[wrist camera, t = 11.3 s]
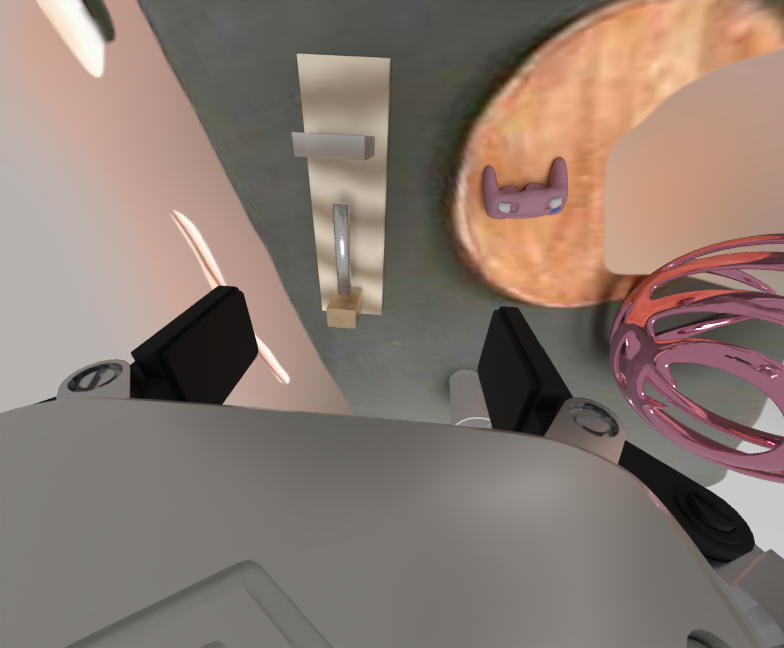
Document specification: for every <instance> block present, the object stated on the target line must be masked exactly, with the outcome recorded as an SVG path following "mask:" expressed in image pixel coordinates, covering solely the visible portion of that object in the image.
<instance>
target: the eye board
mask: <svg viewBox="0 0 784 648" xmlns="http://www.w3.org/2000/svg"><path fill="white" fill-rule="evenodd" d="M297 60H298V70H299V80H300V90H301V100H302V110H303V120H304V130H305V133H302V132H292V139H293V147H294V155H295V156H297V157H307V160H308V170H309V180H310V190H311V200H312V210H313V220H314V230H315V240H316V250H317V260H318V270H319V280H320V290H321V300H322V310H324V311H327V310H326V308H327V306H328V304H329V302H330V300H331V298H332V296H333V294H334V292H335V290H336V289H338V287H337V271H336V255H335V239H334V223H333V208H332V203H335V202H345V203H349V216H350V247H351V278H352V290H360V291H362V310H361V313H363V314H376V315H382V305H383V276H384V247H385V218H386V189H387V160H388V131H389V101H390V72H391V60H390V58H374V57H354V56H334V55H314V54H297Z"/></svg>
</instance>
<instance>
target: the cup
mask: <svg viewBox="0 0 784 648" xmlns="http://www.w3.org/2000/svg"><path fill="white" fill-rule="evenodd" d="M449 387H450V407H451V425H459V426H469V427H481V428H489V429H492V425H491V422H490V418H489V414H488V410H487V407H486V403H485V399H484V395H483V392H482V388H481V384H480V380H479V377H478V373H477V372H475V371H473V370H468V369H464V370H459V371H457V372H455V373H453V374H452V375H451V377H450V379H449Z"/></svg>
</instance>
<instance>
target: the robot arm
mask: <svg viewBox="0 0 784 648" xmlns="http://www.w3.org/2000/svg"><path fill="white" fill-rule="evenodd" d="M131 354H132V356H133V358H134V360H135V362H134V363H132V364H131V365H130V364H129V363H128V362H126V361H125V360H118V359H115V360H105V361H101V362H97V363H94V364H91V365H88V366H86V367H84V368H82V369H79V370H77V371H76V372H74V373H73V374H71V375H70V376H68V377H67V378H66V379H65V380H64V381H63V382H62V384H61V385H60V387H59V390H58V394H57V396H56V397H54V398H51V399H48V400H45V401H42V402H39V403H36V404H33V405H28V406H24V407H21V408H16V409H13V410H10V411H6V412H3V413H0V648H784V559H783V558H782V557H780V556H779V555H778V554H776V553H775V552H774V551H773V550H771V549H770V550H768V551H766V552H764V551H763V550H761V549H760V548H759V547H758V546H757V545H755V541H754V537H753V534H752V532H751V530H750V528H749V526H748V525H747V523H746V522H745V520H744V519H743V518H742V517H741V516H740V515H739V514H738V512H737V511H736V510H735V509H734V508H732V507H731V506H730V505H729V504H728V503H727V502H726V501H724V500H723V499H722V498H720V497H719V496H717V495H716V494H714V493H713V492H711V491H710V490H708V489H706V488H705V487H703V486H701V485H700V484H698V483H696V482H695V481H693V480H691V479H690V478H688V477H686V476H685V475H683V474H681V473H679V472H678V471H676V470H674V469H673V468H671V467H669V466H668V465H666V464H664V463H663V462H661V461H659V460H658V459H656V458H654V457H653V456H651V455H649V454H648V453H646V452H644V451H643V450H641V449H639V448H638V447H636V446H634V445H633V444H631V443H629V442H628V441H626V440H625V439H626V428H625V426H624V424H623V422H622V421H621V420H620V418H619V417H618V416H617V415H616V414H615V413H614V412H612V411H611V410H610V409H609V408H607V407H605V406H604V405H602V404H600V403H598V402H595V401H593V400H590V399H586V398H578V397H574V398H573V396H572V395H571V393H570V391H569V390H568V388H567V386H566V385H565V383H564V381H563V380H562V378H561V377H560V375H559V373H558V372H557V370H556V368H555V367H554V365H553V363H552V362H551V360H550V358H549V357H548V355H547V354H546V352H545V350H544V349H543V347H542V346H541V345H540V343H539V342H538V340H537V338H536V337H535V335H534V333H533V332H532V330H531V328H530V327H529V325H528V323H527V322H526V320H525V318H524V317H523V315H522V313H521V312H520V310H519V309H518V308H516V307H503V306H501V307H500V308H499V310H494V312H493V315H492V319H491V322H490V326H489V329H488V333H487V336H486V340H485V343H484V347H483V350H482V354H481V357H480V361H479V364H478V377H479V380H480V384H481V388H482V392H483V395H484V399H485V403H486V407H487V410H488V414H489V418H490V422H491V425H492V429H489V428H481V427H469V426H459V425H450V424H439V423H428V422H417V421H407V420H396V419H385V418H374V417H363V416H350V415H340V414H328V413H317V412H304V411H293V410H281V409H270V408H257V407H244V406H232V405H222V404H223V403H224V401H225V400H226V398H227V397H228V396H229V394H230V393H231V391H232V390H233V389H234V387H235V386H236V385H237V383H238V382H239V380H240V379H241V378H242V376H243V374H244V373H245V372H246V371H247V369H248V368H249V366H250V365H251V364H252V362H253V361H254V359H255V358H256V356H257V354H258V346H257V342H256V338H255V334H254V331H253V327H252V323H251V320H250V316H249V312H248V308H247V305H246V301H245V297H244V294H243V292H242V291H239V289H238V288H237V287H233V286H217V287H216V288H215V289H213V290H212V291H211V292H209V293H208V294H207V295H206V296H204V297H203V298H202V299H200V300H199V301H198V302H196V303H195V304H194V305H193V306H191V307H190V308H189V309H187V310H186V311H185V312H183V313H182V314H181V315H179V316H178V317H177V318H175V319H174V320H173V321H171V322H170V323H169V324H168V325H166V326H165V327H164V328H162V329H161V330H160V331H158V332H157V333H156V334H154V335H153V336H152V337H150V338H149V339H148V340H146V341H145V342H144V343H143V344H141V345H140V346H139V347H137V348H136V349H135V350H133V351H132V352H131Z"/></svg>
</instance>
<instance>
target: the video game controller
mask: <svg viewBox="0 0 784 648" xmlns="http://www.w3.org/2000/svg"><path fill="white" fill-rule="evenodd" d="M483 188H484V196H485V202H486V213H487V215H488V216H490V217H492V218H495V219H505V218H517V219H519V218H533V217H539V216H544V215H554V214H558V213H560V212H561V211H562V210H563V208H564V205H565V203H566V201H567V196H568V177H567V166H566V162H565V160H564V159H563V158H561V157H559V158H557V159H556V160H555V162H554V164H553V166H552V170H551V174H550V182H549V188H546V187H544V186H543V185H541V184H539V183H531V184H529V185H527V186H526V189H525V191H521V192H519V191H518V189H517V188H516V187H514V186H505V187H503V188H502V189H501V190H499V187H498V184H497V179H496V174H495V171H494V169H493V167H492V166H488V167H487V168H486V170H485V172H484V178H483Z"/></svg>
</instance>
